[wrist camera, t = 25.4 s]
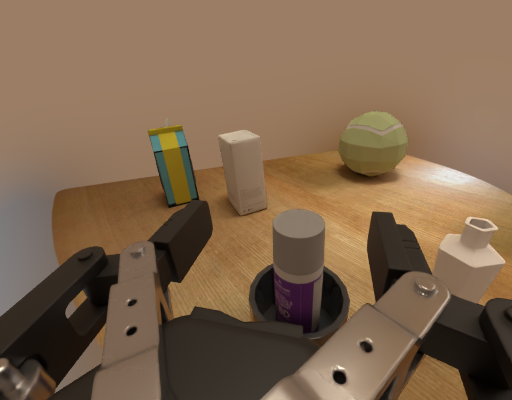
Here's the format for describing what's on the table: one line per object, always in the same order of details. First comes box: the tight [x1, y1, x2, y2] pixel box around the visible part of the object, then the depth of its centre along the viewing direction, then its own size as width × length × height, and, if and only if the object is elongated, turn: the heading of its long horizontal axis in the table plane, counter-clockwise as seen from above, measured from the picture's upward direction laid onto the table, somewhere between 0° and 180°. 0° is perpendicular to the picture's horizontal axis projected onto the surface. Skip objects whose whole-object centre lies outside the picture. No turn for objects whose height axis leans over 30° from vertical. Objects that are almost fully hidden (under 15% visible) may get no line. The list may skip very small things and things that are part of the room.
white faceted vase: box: [432, 217, 506, 303], centre depth 25 cm, size 5×4×15 cm
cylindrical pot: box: [249, 264, 350, 347], centre depth 28 cm, size 10×10×7 cm
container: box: [273, 209, 325, 334], centre depth 26 cm, size 5×5×15 cm
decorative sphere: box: [339, 111, 408, 177], centre depth 63 cm, size 15×15×15 cm
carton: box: [148, 118, 199, 208], centre depth 58 cm, size 7×8×18 cm
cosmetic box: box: [218, 130, 267, 215], centre depth 53 cm, size 8×7×16 cm
